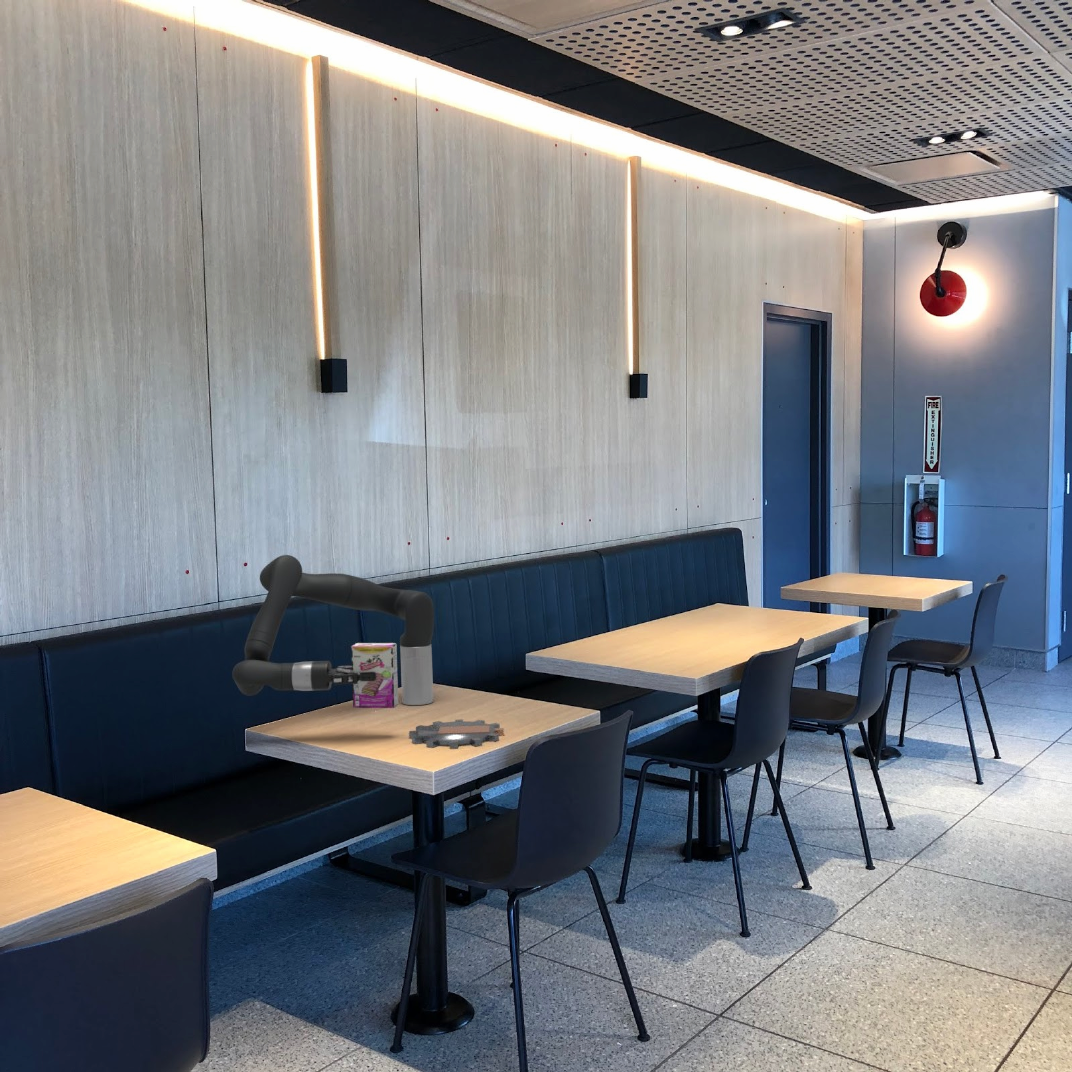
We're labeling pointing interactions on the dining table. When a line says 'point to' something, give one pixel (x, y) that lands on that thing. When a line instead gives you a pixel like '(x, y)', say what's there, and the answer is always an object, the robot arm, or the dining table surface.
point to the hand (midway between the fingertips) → (377, 673)
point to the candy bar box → (385, 666)
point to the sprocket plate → (456, 733)
